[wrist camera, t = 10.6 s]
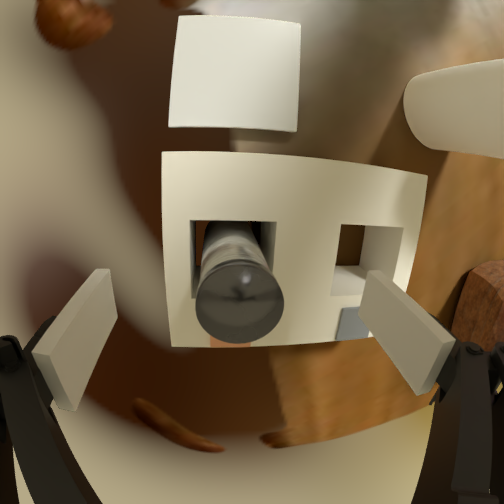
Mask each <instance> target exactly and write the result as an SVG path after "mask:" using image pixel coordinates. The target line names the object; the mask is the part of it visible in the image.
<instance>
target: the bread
mask: <svg viewBox="0 0 504 504" xmlns="http://www.w3.org/2000/svg"><path fill="white" fill-rule="evenodd" d="M451 332H452V333H453V334H454V335H455V336H456V337H457V338H458V339H459V340H460V341H461V342H462V343H463V342H466V341H469V342H473V343H476V344H478V345H479V346H481V347H482V348H483V350H484V351H492V350H493V348H494V346H495V344H496V343H497V342H504V260H498V261H488V262H485V263H482V264H480V265H478V266H477V267H476V268H474V269H473V270H471V271H470V272H469V274H468V276H467V279H466V281H465V284H464V287H463V289H462V292H461V295H460V298H459V301H458V304H457V308H456V311H455V315H454V319H453V323H452V328H451Z"/></svg>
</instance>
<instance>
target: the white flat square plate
mask: <svg viewBox="0 0 504 504" xmlns="http://www.w3.org/2000/svg"><path fill="white" fill-rule="evenodd" d="M300 42H301V24H299V23H293V22H286V21H279V20H272V19H263V18H253V17H240V16H216V15H194V16H179V21H178V28H177V35H176V42H175V51H174V60H173V70H172V81H171V92H170V106H169V125H168V126H169V127H170V128H175V127H178V128H179V127H211V128H212V127H213V128H214V127H215V128H241V129H259V130H272V131H284V132H297V119H298V99H299V75H300Z"/></svg>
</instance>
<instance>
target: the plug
mask: <svg viewBox="0 0 504 504" xmlns="http://www.w3.org/2000/svg"><path fill="white" fill-rule="evenodd" d="M283 310H284V297H283V293H282V291H281V288H280V286H279V284H278V282H277V280H276V278H275V276H274V275H273V274H272V272H271V271H270V269H269V267H268V265H267V263H266V260H265V258H264V256H263V254H262V252H261V249H260V247H259V245H258V243H257V241H256V239H255V236H254V234H253V232H252V230H251V228H250V225H249V224H248V222H247V221H230V220H211V221H210V222H209V223H208V225H207V227H206V229H205V235H204V244H203V253H202V262H201V272H200V282H199V285H198V288H197V293H196V302H195V311H196V316H197V319H198V321H199V323H200V325H201V326H202V328H203V329H204V330H205V331H206V332H207V333H208V334H209V335H211V336H212V337H214V338H216V339H218V340H220V341H223V342H227V343H233V344H242V343H249V342H253V341H256V340H258V339H260V338H262V337H264V336H266V335H267V334H268V333H270V332H271V331H272V330H273V329H274V328H275V327H276V325H277V324H278V323H279V321H280V319H281V317H282V314H283Z"/></svg>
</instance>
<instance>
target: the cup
mask: <svg viewBox="0 0 504 504" xmlns="http://www.w3.org/2000/svg"><path fill="white" fill-rule="evenodd" d="M403 105H404V113H405V117H406V120H407V123H408V125H409V127H410V129H411V131H412V133H413V134H414V136H415V137H416V138H417V139H418V140H419V141H420V142H421V143H422V144H423V145H425V146H426V147H428V148H431V149H435V150H444V151H453V152H461V153H469V154H476V155H483V156H489V157H495V158H501V159H504V59H498V60H491V61H484V62H477V63H472V64H466V65H461V66H455V67H450V68H446V69H441V70H437V71H432V72H428V73H424V74H420V75H417V76H415V77H413V78H412V79H411V80H410V81H409V82H408V84H407V86H406V88H405V92H404V99H403Z"/></svg>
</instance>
